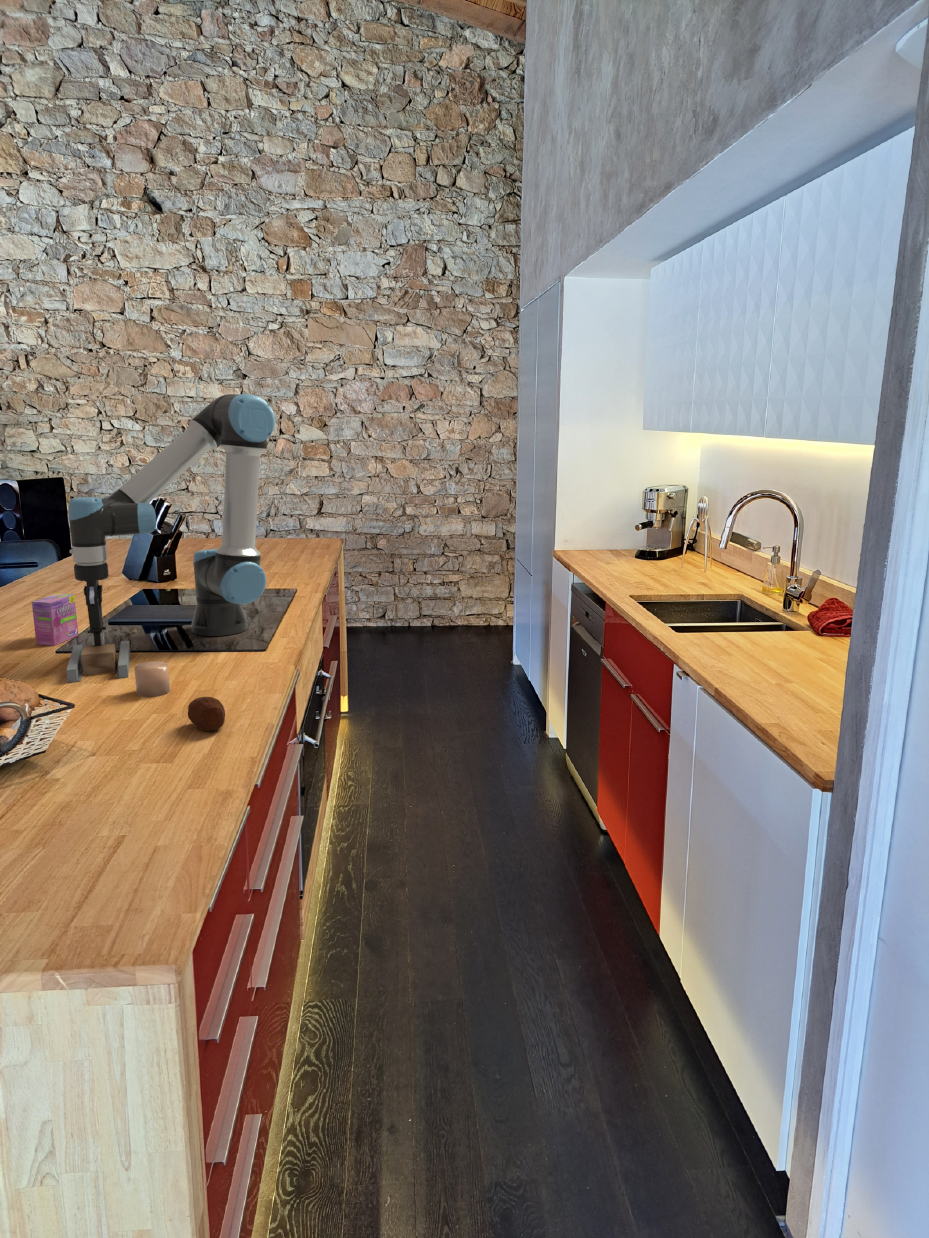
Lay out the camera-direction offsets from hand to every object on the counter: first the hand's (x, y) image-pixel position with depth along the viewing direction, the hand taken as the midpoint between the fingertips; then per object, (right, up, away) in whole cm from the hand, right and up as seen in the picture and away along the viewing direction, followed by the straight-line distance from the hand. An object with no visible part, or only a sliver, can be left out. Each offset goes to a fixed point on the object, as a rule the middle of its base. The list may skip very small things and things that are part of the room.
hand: (99, 657), depth 214 cm
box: (-20, +3, +21) cm, 29 cm away
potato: (+38, -12, -41) cm, 57 cm away
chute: (+1, -2, -2) cm, 3 cm away
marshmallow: (+20, -7, -20) cm, 29 cm away
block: (+2, -3, -4) cm, 5 cm away
